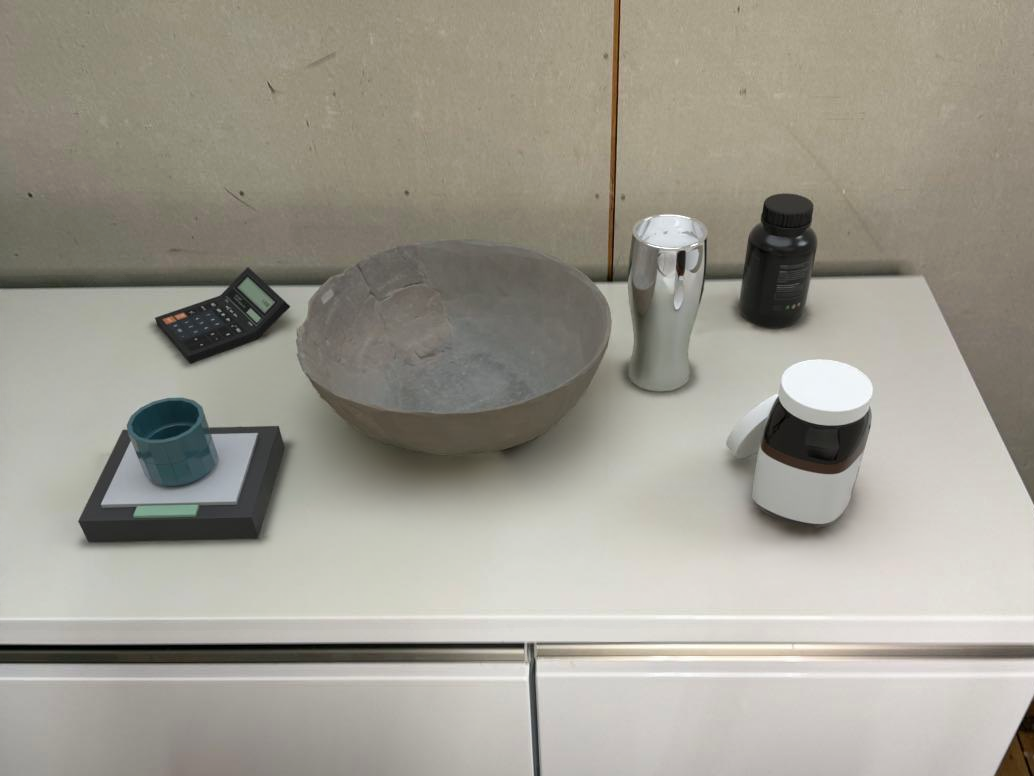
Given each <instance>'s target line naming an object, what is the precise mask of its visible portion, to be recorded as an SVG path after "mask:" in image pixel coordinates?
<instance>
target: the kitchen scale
mask: <svg viewBox="0 0 1034 776" xmlns="http://www.w3.org/2000/svg"><path fill="white" fill-rule="evenodd" d="M209 429H210V432H211V435H212V438H213V441H214V444H215V447H216V451H217V454H218V459H217V461H216V464H215V466H214V467H213V468H212V470H211V471H210V472H209V474H208V475H206V476H205V477H204V478H202V479H201V480H199V481H197V482H195V483H192V484H189V485H186V486H180V487H167V486H163V485H160V484H157V483H153V482H152V481H151V480H149V479H148V478H147V477H146V476H145V474H144V471H143V469H142V467H141V464H140V462H139V459H138V457H137V454H136V452H135V449H134V447H133V444H132V442H131V439H130V437H129V434H128V431H127V429H122V431H121V432H120V434H119V437H118V439H117V440H116V443H115V445H114V447H113V449H112V451H111V452H110V455H109V457H108V459H107V461H106V463H105V465H104V468H103V469H102V472H101V474H100V476H99V478H98V480H97V482H96V483H95V486H94V487H93V489H92V492H91V494H90V496H89V498H88V500H87V502H86V504H85V506H84V508H83V510H82V512H81V514H80V516H79V518H78V521H77V522H78V524H79V527H80V528H81V530H82V533H83V534H84V536H85V539H86V540H87V542H88V543H110V542H111V543H112V542H114V543H115V542H151V541H155V542H157V541H197V540H199V541H201V540H237V539H239V540H240V539H241V540H242V539H259V538H260V537H259V536H260V534H261V533H260V532H261V529H262V526H263V522H264V518H265V515H266V512H267V509H268V506H269V501H270V498H271V495H272V491H273V488H274V484H275V481H276V477H277V473H278V470H279V467H280V464H281V461H282V456H283V453H284V451H285V450H284V449H285V443H284V439H283V436H282V432H281V428H280V425H261V426H260V425H259V426H219V427H218V426H216V427H215V426H214V427H209Z"/></svg>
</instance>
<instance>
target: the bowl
mask: <svg viewBox="0 0 1034 776" xmlns="http://www.w3.org/2000/svg"><path fill="white" fill-rule="evenodd" d="M307 306H308V308H307V315H306V318H305V320H304V321H303V322H302V324H301V325H300V326H298V327H296V339H295V343H296V344H295V345H296V350H297V354H296V355H297V360H298V362H299V365H300V368H301V370H302V371H303V373H304V375H305V376H306V378H307V379H308V380H309V382H310V384H311V385H312V387H313V388H314V389H315V391H316V393H317V394H318V395H319V397H321V398H322V400H324V402H325V403H327V405H328V406H329V407H330V408H331V409H332V410H333V411H334V412H335V413H336V414H338V416H340V417H341V418H342V419H343V420H344V421H346V422H347V423H348V425H350V426H352V427H353V428H355V429H356V430H358V431H359V432H361V433H362V434H365V435H366V436H368V437H370V438H373V439H375V440H377V441H379V442H382V443H385V444H387V445H391V446H394V447H397V448H403V449H408V450H411V451H415V452H422V453H426V454H427V453H428V454H435V455H444V456H456V457H457V456H459V457H460V456H474V455H481V454H488V453H495V452H500V451H503V450H508V449H510V448H514V447H517V446H520V445H522V444H525V443H527V442H530V441H532V440H535V439H536V438H538V437H540V436H541V435H543V434H546V432H548V431H550V430H551V429H552V428H553V427H555V426H556V425H557V424H559V422H561V420H563V418H565V416H566V415H568V413H569V412H570V411H571V410H572V409H573V408H574V407H575V405H577V403H578V402H579V401H580V399H581V398H582V397H583V395H584V394H585V392H586V391H587V389H588V388H589V386H590V384H591V383H592V381H593V380H594V377H595V375H596V373H597V372H598V370H599V368H600V365H601V363H602V360H603V358H604V355H605V353H606V351H607V349H608V346H609V342H610V336H611V333H612V323H613V321H612V312H611V308H610V306H609V303H608V300H607V298H606V297H605V295H604V294H603V293H602V291H601V290H600V288H599V287H598V286H597V285H596V283H595V282H593V280H592V279H591V278H590V277H588V276H587V274H585V273H583V272H582V271H581V270H579V269H578V268H577V267H575V266H573V265H571V264H570V263H567V262H566V261H564V260H561V259H559V258H557V257H556V256H554V255H551V254H549V253H547V252H544V251H541V250H538V249H535V248H532V247H528V246H523V245H520V244H516V243H515V244H514V243H509V242H505V241H504V242H503V241H497V240H491V239H481V238H480V239H479V238H453V239H452V238H451V239H435V240H425V241H424V240H423V241H419V242H416V243H403V244H400V245H397V246H396V247H394V246H389V247H387V248H385V249H382V250H379V251H378V250H377V251H376V253H371V254H368V255H366V256H364V257H362V258H361V259H360V260H359V261H358V262H356V264H355V265H353V266H349V267H347V268H345V269H343V271H342V273H339V274H336V275H332V276H330V277H329V278H328V279H327V280H326V281H325V282H324V283H322V284H321V285H320V286H319V288H318V289H317V290H316V292H314V294H313V295H311V297H310V299H309V300H308V302H307Z"/></svg>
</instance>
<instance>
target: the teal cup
mask: <svg viewBox="0 0 1034 776" xmlns="http://www.w3.org/2000/svg"><path fill="white" fill-rule="evenodd" d="M209 428H210V426H209V424H208V421H207V417H206V414H205V411H204V408H203V406H202V405H201V404H199V403H198V402H197V401H196V400H194V399H189V398H187V397H165V398H162V399H158V400H157V399H156V400H154V401H151V402H149V403H147V404H145V405H142V406H141V407H139V408H138V409H137V410H136V411H134V413H133V414H131V415H130V416H129V419H128V421H127V423H126V430H127V431H128V434H129V437H130V439H131V442H132V444H133V447H134V449H135V452H136V454H137V457H138V459H139V462H140V464H141V467H142V469H143V471H144V474H145V476H146V477H147V478H148V479H149V480H151V481H152V482H153V483H157V484H160V485H163V486H167V487H180V486H186V485H189V484H192V483H195V482H197V481H199V480H201V479H202V478H204V477H205V476H206V475H208V474H209V472H210V471H211V470H212V468H213V467H214V466H215V464H216V461H217V459H218V454H217V451H216V447H215V444H214V441H213V438H212V435H211V432H210V429H209Z"/></svg>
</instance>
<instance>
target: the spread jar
mask: <svg viewBox="0 0 1034 776" xmlns="http://www.w3.org/2000/svg"><path fill="white" fill-rule="evenodd" d="M873 395H874V386H873V384H872V381H871V380H870V378H869V377H868V376H867V375H866V374H865V373H863V371H861V370H860V369H858V368H857V367H855V366H852V365H850V364H848V363H845V362H841V361H838V360H837V361H836V360H832V359H823V358H822V359H821V358H820V359H817V358H816V359H815V358H813V359H807V360H803V361H799V362H796V363H794V364H791V365H790V366H789V367H787V368H786V369H785V371H784V372H783V373H782V375H781V378H780V383H779V389H778V393H775V394H773V395H771V396H768V398H766V399H764V400H763V401H761V402H760V403H758V404H757V405H756V406H755V407H753V408H752V409H751V410H749V411H748V412H747V413H746V415H744V416H743V417H742V418H741V419H740V420H739V421H738V422H737V424H736V425H735V426H734V427H733V428H732V430H731V431H730V433H729V434H728V436H727V439H726V445H725V446H726V447H727V448H728V450H730V452H731V453H732V454H733V455H734V456H735V457H736V458H737V459H745V458H748V457H751V456H753V455H755V454H756V453H757V457H756V462H755V469H754V474H753V480H752V486H751V488H752V489H751V495H752V501H753V502H754V504H755V505H756V506H757V507H758V509H760V510H761V511H762V512H764V513H765V514H767V515H769V516H770V517H773V519H776V520H778V521H780V522H783V523H786V524H789V525H791V526H792V525H793V526H798V527H803V528H823V527H824V528H825V527H828V526H829V525H832V524H833V523H835V522H836V521H837V520H838V519H840V518H841V516H843V514H844V513H845V511H846V509H847V507H848V505H849V504H850V501H851V499H852V498H851V497H852V495H853V492H854V489H855V486H856V482H857V479H858V475H859V472H860V468H861V464H862V460H863V456H864V453H865V449H866V445H867V443H868V439H869V434H870V431H871V426H872V419H873V413H872V412H873V411H872V408H871V402H872V398H873Z"/></svg>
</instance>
